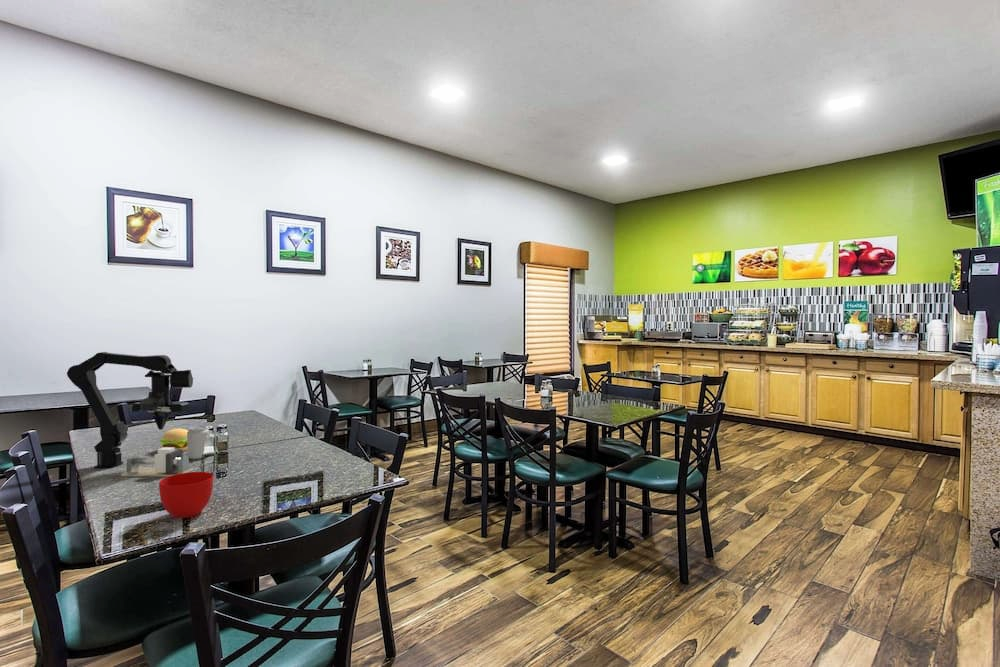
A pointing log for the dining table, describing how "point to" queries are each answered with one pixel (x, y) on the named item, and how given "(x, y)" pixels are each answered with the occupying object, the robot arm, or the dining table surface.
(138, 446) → the dining table surface
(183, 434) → the hamburger
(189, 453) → the can
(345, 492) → the dining table surface
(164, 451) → the bracket
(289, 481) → the dining table surface
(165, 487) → the red bowl
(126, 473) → the beige mechanical fixture
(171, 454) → the block
